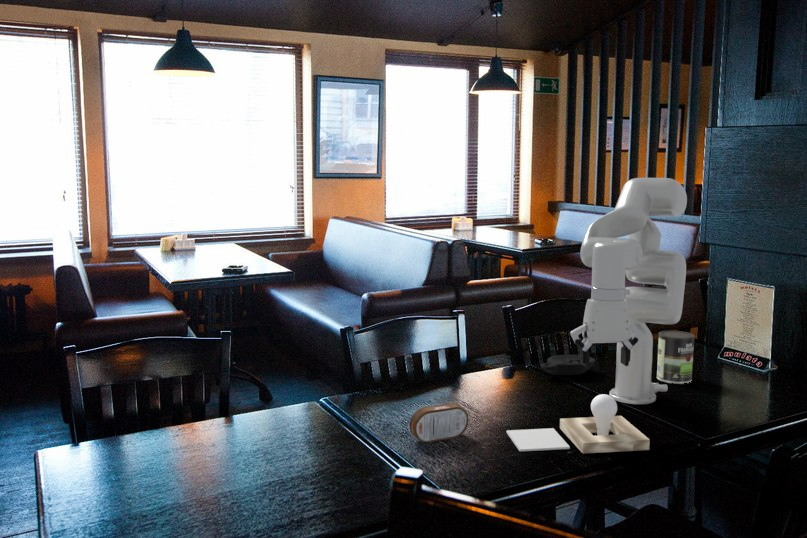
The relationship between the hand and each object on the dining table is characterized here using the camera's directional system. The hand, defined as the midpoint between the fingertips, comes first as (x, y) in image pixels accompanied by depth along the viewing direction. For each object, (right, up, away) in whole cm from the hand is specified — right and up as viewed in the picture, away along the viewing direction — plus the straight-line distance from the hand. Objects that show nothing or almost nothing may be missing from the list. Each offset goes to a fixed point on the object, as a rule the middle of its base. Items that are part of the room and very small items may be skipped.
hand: (605, 365), depth 175 cm
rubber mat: (-16, -18, +2) cm, 24 cm away
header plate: (0, -18, +3) cm, 18 cm away
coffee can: (+35, -11, +50) cm, 62 cm away
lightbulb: (0, -18, +3) cm, 19 cm away
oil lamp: (+3, -10, +56) cm, 57 cm away
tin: (-39, -19, +3) cm, 43 cm away
